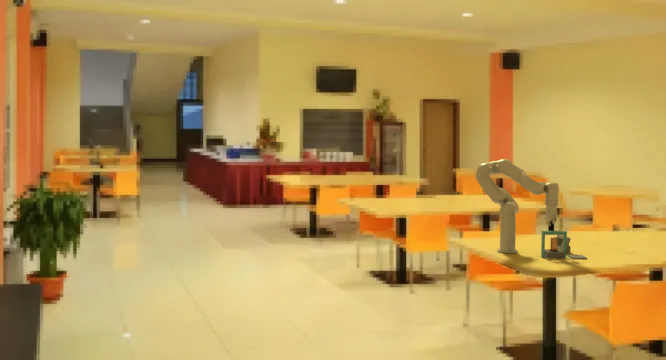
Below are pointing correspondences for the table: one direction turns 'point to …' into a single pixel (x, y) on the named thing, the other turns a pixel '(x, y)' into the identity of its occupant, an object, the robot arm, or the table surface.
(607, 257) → the table surface
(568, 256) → the mat
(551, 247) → the cylinder
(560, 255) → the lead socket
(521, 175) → the robot arm
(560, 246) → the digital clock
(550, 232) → the green arch
